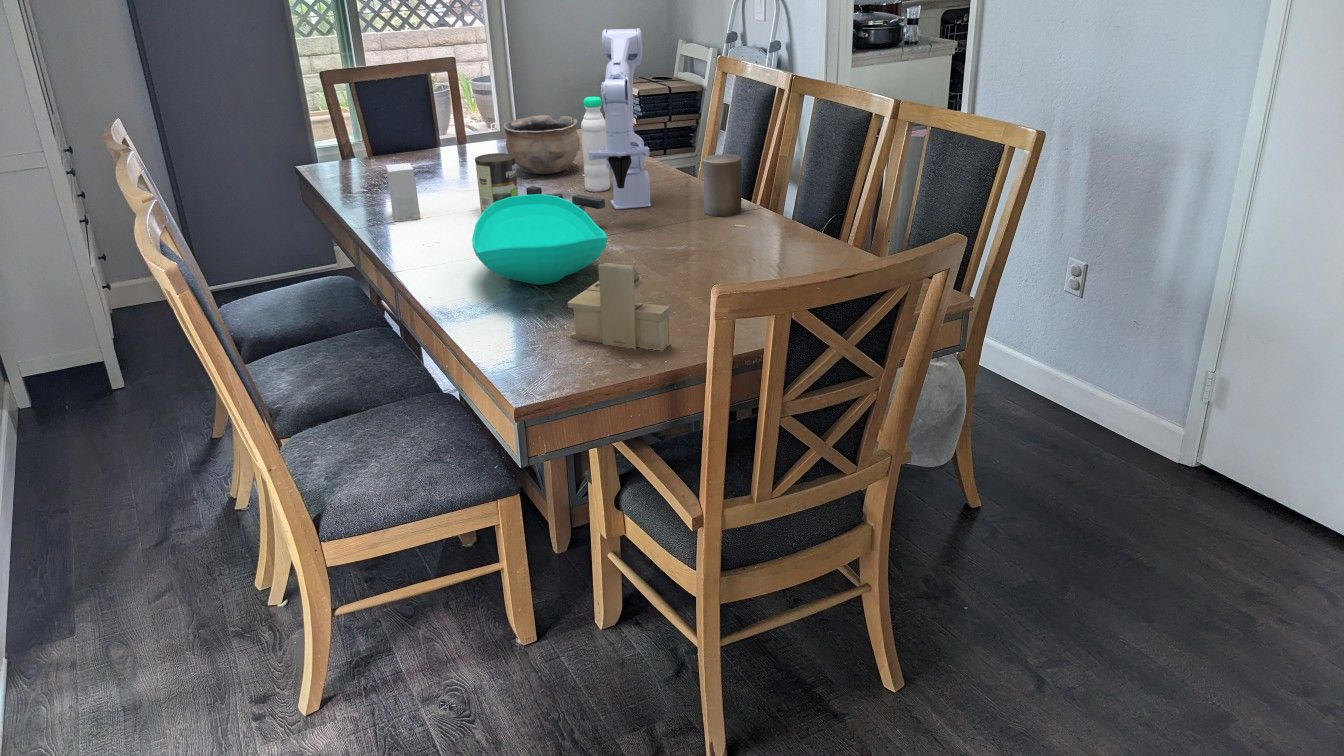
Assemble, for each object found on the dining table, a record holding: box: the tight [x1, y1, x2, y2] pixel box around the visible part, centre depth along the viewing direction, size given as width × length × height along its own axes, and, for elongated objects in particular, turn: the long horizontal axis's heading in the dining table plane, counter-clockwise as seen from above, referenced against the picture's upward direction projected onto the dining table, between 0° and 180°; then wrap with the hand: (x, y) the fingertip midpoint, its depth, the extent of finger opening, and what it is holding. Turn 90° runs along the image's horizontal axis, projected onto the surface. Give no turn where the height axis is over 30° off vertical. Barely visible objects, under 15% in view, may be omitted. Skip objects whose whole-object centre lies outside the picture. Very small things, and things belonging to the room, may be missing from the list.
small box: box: [385, 162, 421, 223], centre depth 254 cm, size 8×6×13 cm
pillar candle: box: [702, 153, 743, 217], centre depth 250 cm, size 10×10×15 cm
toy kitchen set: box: [567, 262, 672, 352], centre depth 180 cm, size 18×17×15 cm
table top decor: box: [471, 193, 608, 286], centre depth 207 cm, size 40×28×13 cm
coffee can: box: [474, 152, 519, 214], centre depth 257 cm, size 10×10×14 cm
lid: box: [525, 185, 606, 210], centre depth 247 cm, size 14×24×3 cm, turn 53°
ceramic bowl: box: [503, 115, 581, 175], centre depth 294 cm, size 22×22×15 cm
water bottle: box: [580, 96, 611, 193], centre depth 272 cm, size 7×7×25 cm
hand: (620, 187), depth 242 cm, fingers closed
